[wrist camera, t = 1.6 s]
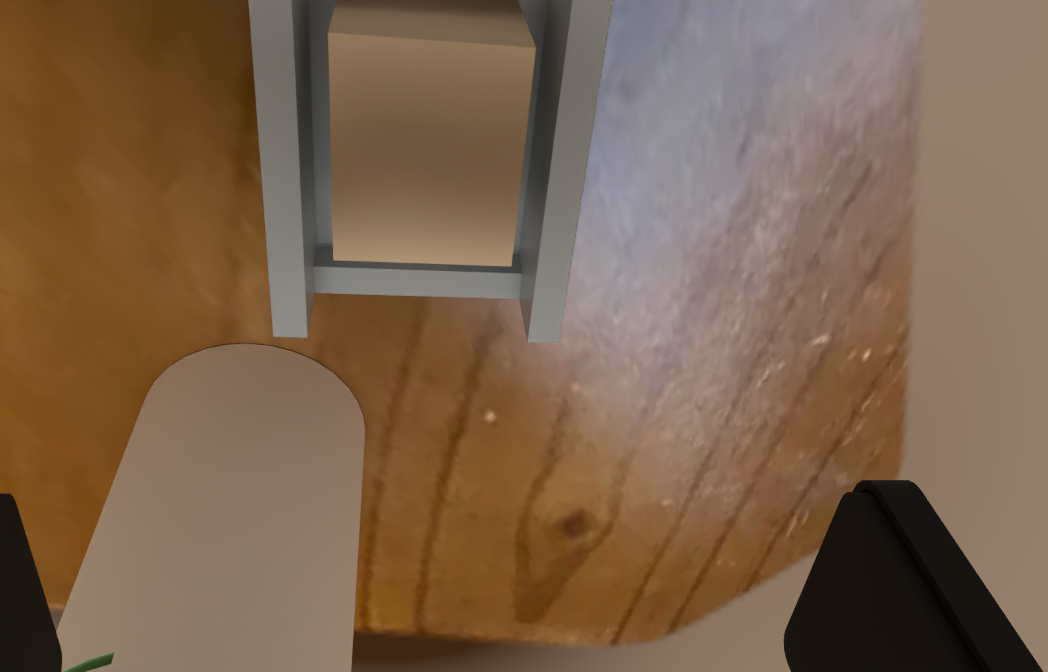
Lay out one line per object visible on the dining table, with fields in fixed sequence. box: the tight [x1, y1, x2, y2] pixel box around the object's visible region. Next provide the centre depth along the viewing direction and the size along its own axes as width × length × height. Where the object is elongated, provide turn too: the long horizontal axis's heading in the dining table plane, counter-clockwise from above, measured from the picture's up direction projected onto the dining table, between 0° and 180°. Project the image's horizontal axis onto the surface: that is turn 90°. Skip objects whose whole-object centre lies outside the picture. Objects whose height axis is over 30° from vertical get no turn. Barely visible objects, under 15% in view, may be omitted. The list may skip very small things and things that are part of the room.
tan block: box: [328, 0, 536, 266], centre depth 20 cm, size 5×4×4 cm
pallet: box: [248, 0, 613, 343], centre depth 21 cm, size 10×7×5 cm
